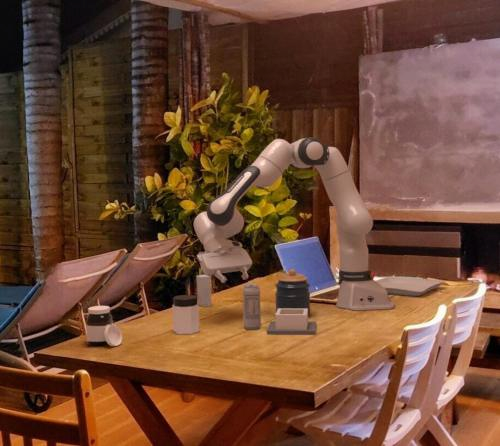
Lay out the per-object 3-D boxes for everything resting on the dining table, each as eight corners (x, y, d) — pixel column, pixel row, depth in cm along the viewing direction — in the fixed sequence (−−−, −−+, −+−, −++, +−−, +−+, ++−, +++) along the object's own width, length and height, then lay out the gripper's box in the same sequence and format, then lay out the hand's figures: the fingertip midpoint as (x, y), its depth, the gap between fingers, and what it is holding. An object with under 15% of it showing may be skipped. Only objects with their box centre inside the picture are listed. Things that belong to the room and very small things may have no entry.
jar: (202, 332, 241) (201, 298, 240) (179, 335, 238) (178, 300, 237) (192, 327, 249) (191, 293, 248) (170, 330, 246) (169, 296, 245)
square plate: (388, 283, 329) (388, 275, 328) (445, 289, 313) (445, 280, 312) (361, 293, 307) (361, 284, 307) (421, 299, 291) (421, 290, 291)
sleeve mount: (316, 324, 249) (316, 307, 248) (315, 334, 235) (314, 316, 235) (270, 324, 251) (270, 307, 250) (266, 334, 237) (266, 316, 237)
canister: (317, 315, 264) (317, 268, 263) (295, 321, 255) (294, 272, 253) (290, 310, 273) (290, 265, 271) (268, 316, 264) (267, 269, 262)
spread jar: (92, 339, 236) (91, 304, 235) (126, 339, 235) (125, 304, 234) (83, 349, 224) (81, 312, 223) (118, 348, 223) (117, 312, 222)
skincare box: (211, 306, 285) (211, 276, 284) (201, 307, 284) (200, 277, 282) (207, 303, 291) (206, 274, 290) (196, 304, 289) (196, 274, 288)
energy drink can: (261, 325, 249) (260, 283, 248) (260, 330, 243) (259, 286, 242) (244, 325, 250) (243, 283, 249) (242, 330, 244) (241, 286, 243)
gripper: (198, 247, 251) (215, 278, 244) (244, 242, 263) (261, 271, 257) (191, 258, 255) (208, 289, 248) (237, 253, 267) (254, 281, 261)
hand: (235, 280), depth 252 cm, fingers open, 8 cm apart
